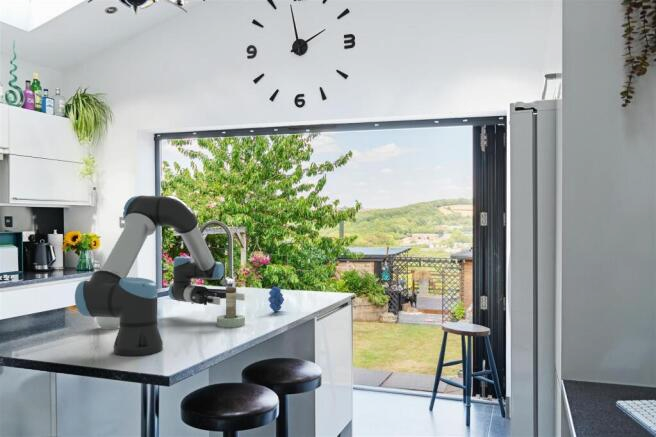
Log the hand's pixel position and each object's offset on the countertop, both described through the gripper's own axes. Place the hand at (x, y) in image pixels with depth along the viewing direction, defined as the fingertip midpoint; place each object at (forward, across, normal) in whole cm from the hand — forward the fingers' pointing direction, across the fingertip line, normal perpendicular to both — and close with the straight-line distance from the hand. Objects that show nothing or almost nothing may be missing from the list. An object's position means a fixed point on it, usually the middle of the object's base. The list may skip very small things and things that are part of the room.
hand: (232, 299), depth 222 cm
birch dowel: (0, 0, -10) cm, 10 cm away
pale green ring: (0, 0, -10) cm, 10 cm away
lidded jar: (-33, +34, -10) cm, 48 cm away
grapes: (-4, -32, -10) cm, 34 cm away
